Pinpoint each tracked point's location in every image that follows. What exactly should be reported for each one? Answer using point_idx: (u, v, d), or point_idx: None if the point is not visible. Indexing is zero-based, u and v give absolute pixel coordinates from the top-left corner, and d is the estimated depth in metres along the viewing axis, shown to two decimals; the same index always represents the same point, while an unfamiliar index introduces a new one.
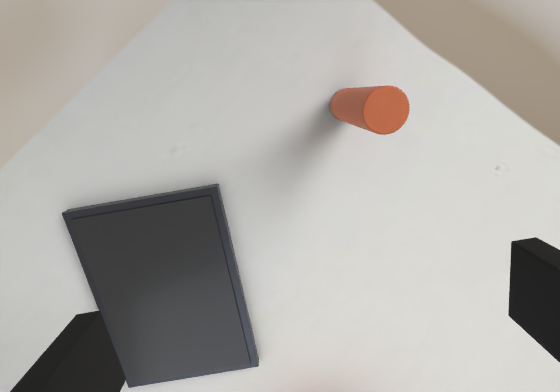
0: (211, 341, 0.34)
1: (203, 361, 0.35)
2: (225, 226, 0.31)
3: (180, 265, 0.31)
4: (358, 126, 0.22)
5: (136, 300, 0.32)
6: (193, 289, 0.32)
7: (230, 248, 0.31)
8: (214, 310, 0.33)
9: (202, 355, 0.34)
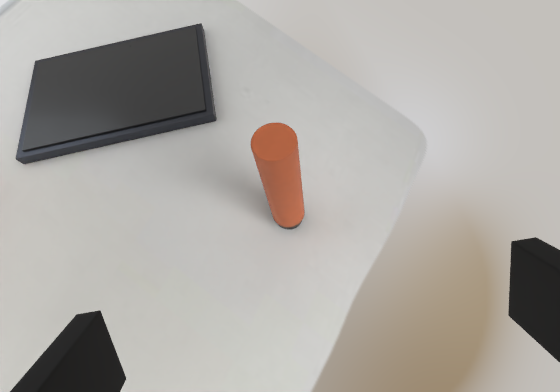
0: (60, 116, 0.35)
1: (40, 111, 0.35)
2: (175, 122, 0.33)
3: (144, 91, 0.35)
4: None
5: (118, 63, 0.37)
6: (118, 101, 0.35)
7: (153, 127, 0.33)
8: (92, 117, 0.34)
9: (47, 110, 0.35)
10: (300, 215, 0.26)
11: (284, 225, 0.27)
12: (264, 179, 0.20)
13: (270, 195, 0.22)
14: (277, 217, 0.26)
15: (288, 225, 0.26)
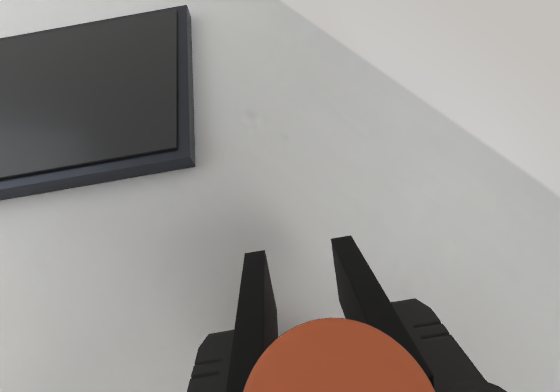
0: None
1: None
2: (122, 168, 0.19)
3: (79, 108, 0.21)
4: None
5: (49, 60, 0.23)
6: (34, 123, 0.21)
7: (83, 174, 0.19)
8: None
9: None
10: None
11: None
12: None
13: None
14: None
15: None
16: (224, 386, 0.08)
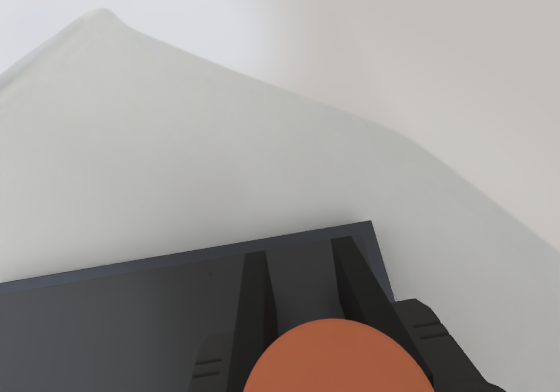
0: None
1: None
2: None
3: None
4: None
5: (185, 331, 0.15)
6: None
7: None
8: None
9: None
10: None
11: None
12: None
13: None
14: None
15: None
16: (224, 386, 0.08)
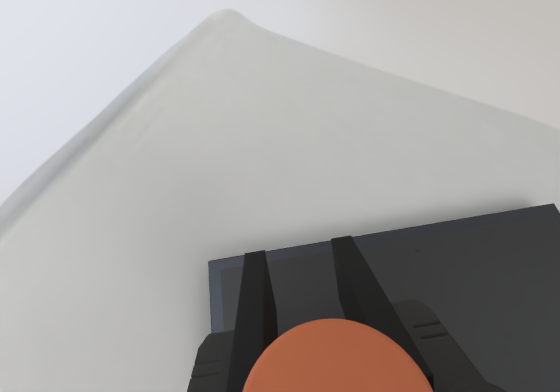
0: None
1: None
2: None
3: None
4: None
5: None
6: None
7: None
8: None
9: None
10: None
11: None
12: None
13: None
14: None
15: None
16: (224, 386, 0.08)
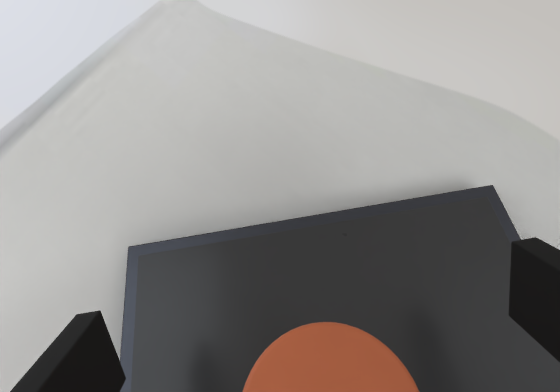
0: None
1: None
2: None
3: None
4: None
5: (330, 286, 0.16)
6: None
7: None
8: None
9: None
10: None
11: None
12: None
13: None
14: None
15: None
16: None
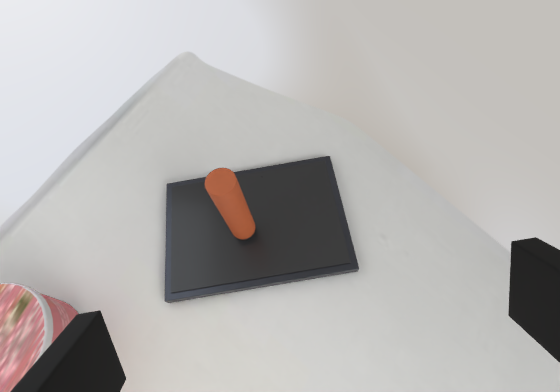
0: (203, 255, 0.36)
1: (182, 247, 0.36)
2: (321, 274, 0.34)
3: (284, 233, 0.36)
4: None
5: (253, 197, 0.39)
6: (260, 243, 0.36)
7: (299, 278, 0.34)
8: (236, 260, 0.35)
9: (189, 246, 0.36)
10: (250, 231, 0.34)
11: (238, 237, 0.35)
12: (216, 205, 0.29)
13: (223, 216, 0.31)
14: (232, 231, 0.34)
15: (241, 238, 0.35)
16: None
